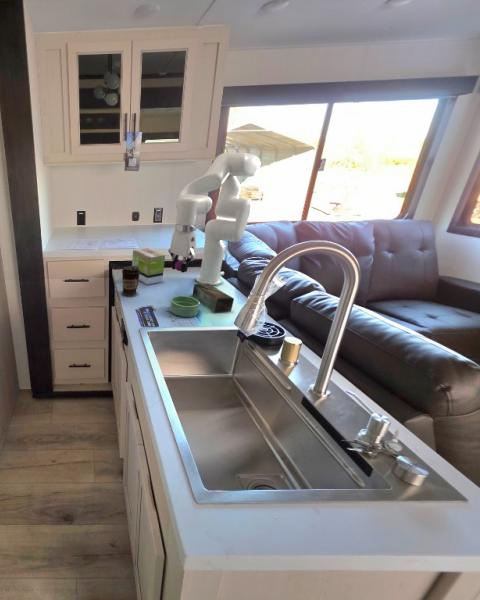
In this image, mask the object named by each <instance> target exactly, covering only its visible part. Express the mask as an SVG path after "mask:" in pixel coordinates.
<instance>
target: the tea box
mask: <svg viewBox="0 0 480 600" xmlns="http://www.w3.org/2000/svg"><path fill="white" fill-rule="evenodd" d="M131 259H132V260H131V261H132V262H131V263H132V264H131V266H136V267H139V270H140V274H139V281H140V282H142V283H144V284H145V285H147V286H148V285H153V284H158V283H163V280H164V279H163V278H164V270H165V260H166V254H163V253H160V252H158V251H156V250H153V249H151V248H148V247H147V248H140V249H133V250H132V258H131Z"/></svg>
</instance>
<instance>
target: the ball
mask: <svg viewBox="0 0 480 600" xmlns="http://www.w3.org/2000/svg"><path fill="white" fill-rule="evenodd" d="M182 263H183V260H179V261H178V262H176V263H175V269H174V270H176V271H178V272H181V267H182Z"/></svg>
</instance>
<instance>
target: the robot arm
mask: <svg viewBox="0 0 480 600" xmlns="http://www.w3.org/2000/svg"><path fill="white" fill-rule="evenodd" d="M260 166H261V161H260V158H259V157H258V156H257V155H255V154H251V153H247V152H223V153H221V154H219V155H218V156H216V157H215V159H214V161H213V162H212V164H211V165H210V167H208V169H207V171H206V172H205V174H204V175H202V176H200V177H198V178H196V179H194V180H192V181H191V182H189V183H188V184H187V185H185V187H184V188H183V189H182V190H181V192H180V194H179V195H178V197H177V199H176V202H175V207H176V208H175V209H176V219H175V226H174V227H175V228H174V230H173V233H172V236H171V242H170V247H169V249H168V250H167V251H168V253H169V255H170V257H171V260H172V267H171V269H172V270H176V269H175V263H176V262H178V261H180V259H179V258H180V256H181V257H182V261H183V263H182V267H181V271H180V272H181V273H183V274H184V273H187V272H188V269H189V264H190V263H191V262H192V261H194V260H196V259H197V256H196V249H197V248H196V247H197V233H196V232H195V231H197V227H195V226H196V219H197V215H205V214H207V213H208V212H210V211H211V209H212V206H213V200H212V198H211V197H210V196H208V195H203V194H206V193H210V192H213V191H216V190H218V189H220V188H221V189H220V192H219V194H218V198H217V201H216V203H215V208H214V214H215V216H216V217H219V218H220V219H219V218H213V219H210V220H208V221H207V222H206V224H205V226H204V246H203V252H202V257H201V258H202V259H201V265H200V271H199V275H197V276H196V277H195V281H196V282H197V283H201V284H205V283H209V284H210V285H212V286H219V285H221V284H222V282H223V280H222V279H221V276H224V275H225V272H224V271H221V270H222V264H223V260H224V259H223V258H224V254H225V244H224V243H223V242H228V243H229V242H230V243H238V242H240V241H241V240H242V238H243V236H244V234H245V231H246V228H247V225H248V222H249V219H250V217H251V214H252V208H253V203H252V201H251V200H250V199H248V198H243V197H239V196H240V193H241V189H242V187H241V184H240V180H238V178H237V177H247V178H248V177H249V178H250V177H254V176H255V175H256V174H258V172H259V171H260ZM221 218H224V219H221ZM229 219H233V220H229Z"/></svg>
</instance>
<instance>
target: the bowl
mask: <svg viewBox="0 0 480 600" xmlns="http://www.w3.org/2000/svg"><path fill="white" fill-rule="evenodd" d="M169 302H170V304H169V311H170V312H171V313H172V314H173V315H176V316H178V317H181V318H191V317H195V316H197V315H198V314H199V310H200V304H201V303H200V301H199V300H198V299H196V298H195V297H194V296H189V295H175V296H173V297H171V298H170V301H169Z"/></svg>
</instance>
